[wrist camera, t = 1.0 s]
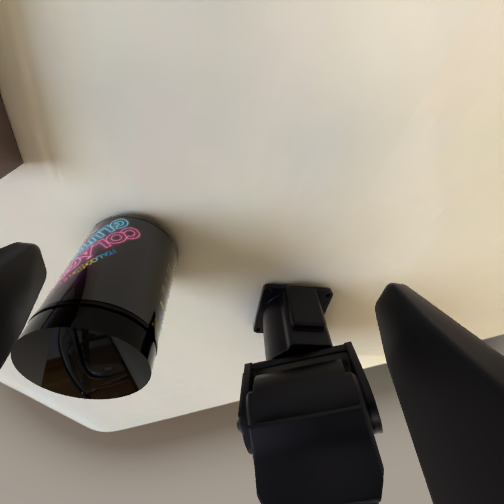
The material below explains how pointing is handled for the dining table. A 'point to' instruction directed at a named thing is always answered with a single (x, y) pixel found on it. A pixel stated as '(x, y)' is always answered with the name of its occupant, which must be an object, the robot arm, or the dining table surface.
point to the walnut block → (7, 145)
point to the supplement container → (102, 313)
